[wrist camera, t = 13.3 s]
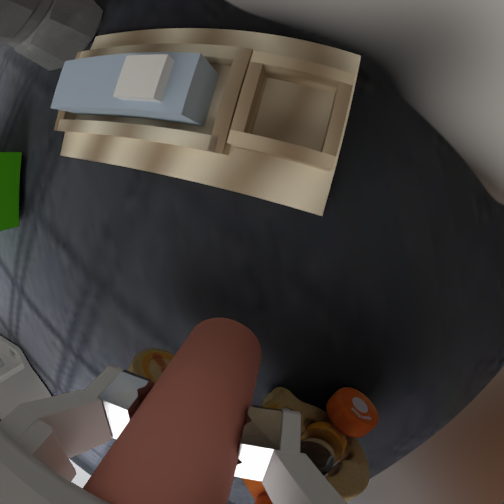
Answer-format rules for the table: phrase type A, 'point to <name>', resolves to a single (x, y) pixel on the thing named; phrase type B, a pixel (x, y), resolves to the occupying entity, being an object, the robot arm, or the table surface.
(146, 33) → the jig
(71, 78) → the blue slab with cube
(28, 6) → the coffeepot
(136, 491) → the tail peg
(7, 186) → the toy car
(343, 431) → the toy helicopter
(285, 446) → the robot arm
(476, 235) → the table surface
